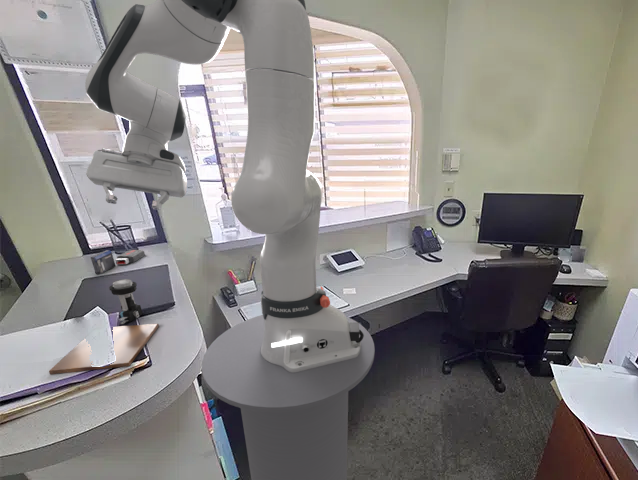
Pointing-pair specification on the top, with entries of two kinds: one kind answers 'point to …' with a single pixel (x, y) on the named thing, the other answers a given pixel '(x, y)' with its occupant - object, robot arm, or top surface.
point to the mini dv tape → (103, 261)
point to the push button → (126, 299)
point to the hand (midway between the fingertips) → (133, 205)
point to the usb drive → (129, 256)
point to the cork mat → (125, 348)
